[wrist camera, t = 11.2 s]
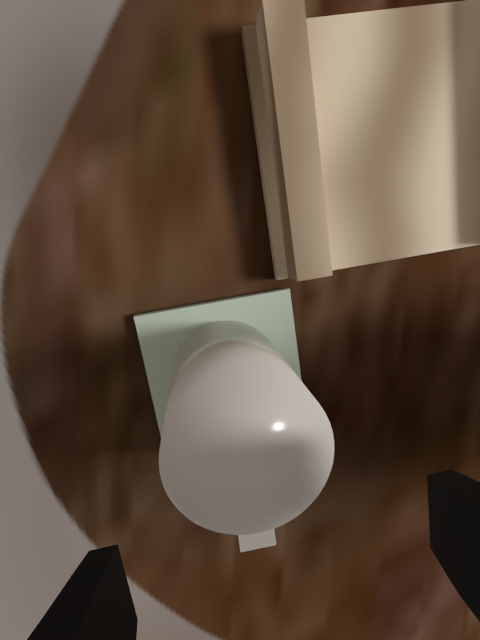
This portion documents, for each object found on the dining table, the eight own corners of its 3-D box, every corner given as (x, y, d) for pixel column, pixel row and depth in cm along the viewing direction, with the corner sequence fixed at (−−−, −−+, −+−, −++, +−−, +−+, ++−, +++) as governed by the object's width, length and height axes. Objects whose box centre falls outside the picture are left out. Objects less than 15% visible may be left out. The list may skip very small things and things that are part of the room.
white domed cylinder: (274, 313, 17) (328, 360, 10) (287, 441, 19) (342, 558, 12) (163, 329, 17) (143, 390, 10) (185, 459, 18) (182, 592, 11)
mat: (286, 287, 17) (289, 289, 17) (304, 423, 19) (307, 428, 19) (135, 314, 17) (133, 316, 16) (166, 453, 18) (165, 458, 18)
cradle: (515, 1, 16) (559, -32, 14) (514, 237, 18) (552, 236, 16) (240, 32, 15) (248, 1, 13) (275, 278, 17) (285, 283, 15)
